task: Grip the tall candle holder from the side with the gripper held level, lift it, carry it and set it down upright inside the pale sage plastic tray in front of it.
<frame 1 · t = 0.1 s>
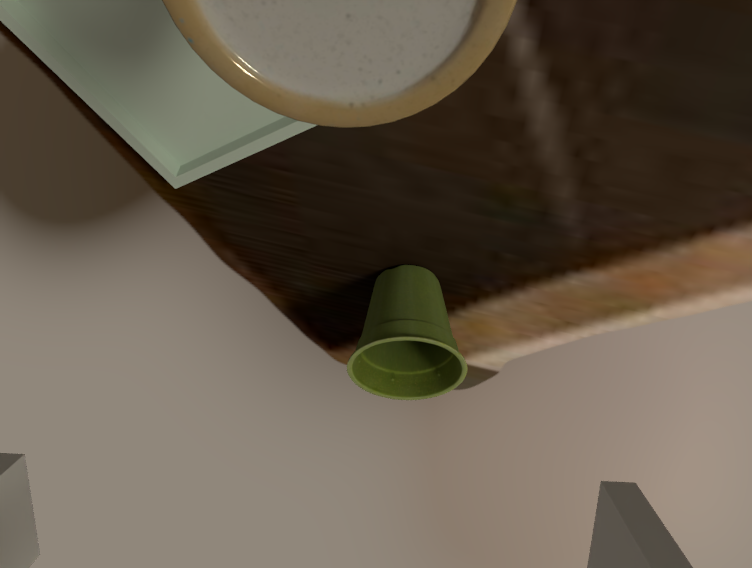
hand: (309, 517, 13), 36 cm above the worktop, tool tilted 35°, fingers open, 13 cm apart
plant pot: (408, 282, 63), on the worktop
tray: (188, 34, 42), on the worktop
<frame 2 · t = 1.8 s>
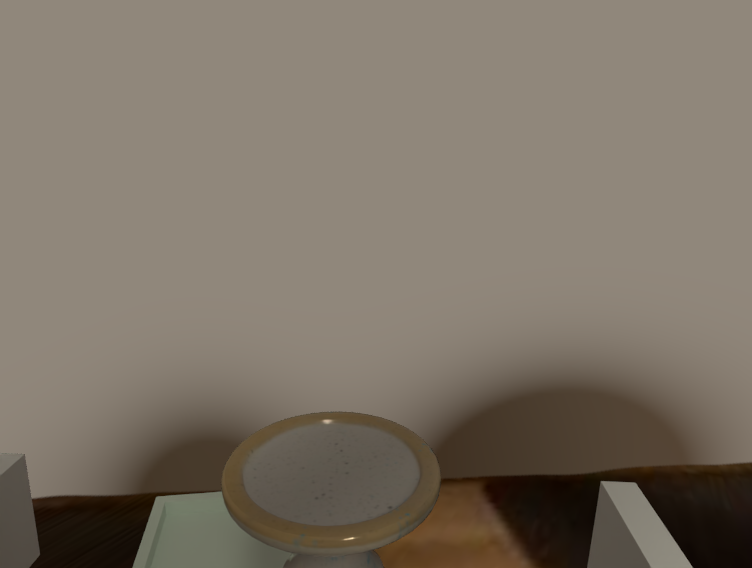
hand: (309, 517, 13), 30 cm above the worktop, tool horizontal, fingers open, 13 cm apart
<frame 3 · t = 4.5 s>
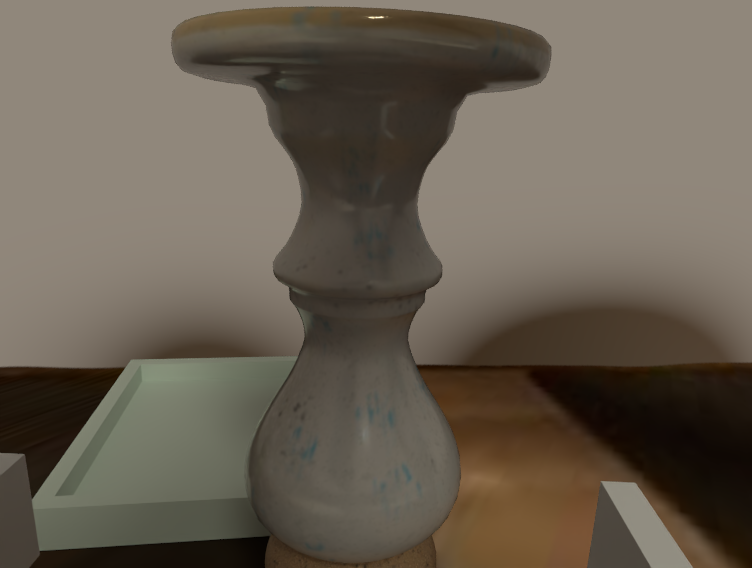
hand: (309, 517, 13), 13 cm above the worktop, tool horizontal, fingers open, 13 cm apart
tray: (238, 443, 39), on the worktop
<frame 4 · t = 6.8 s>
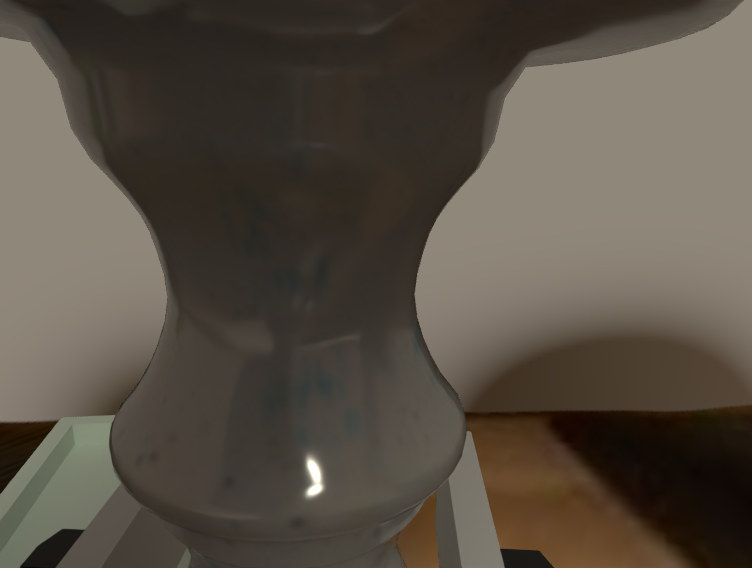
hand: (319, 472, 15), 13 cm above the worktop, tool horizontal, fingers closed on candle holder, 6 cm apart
tray: (185, 538, 31), on the worktop
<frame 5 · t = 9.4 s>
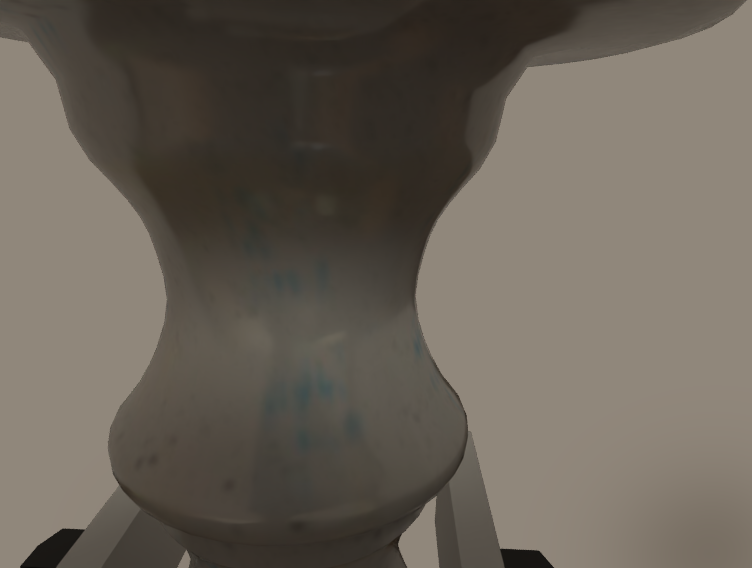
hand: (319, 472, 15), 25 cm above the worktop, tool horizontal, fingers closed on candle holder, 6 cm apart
when the fingers open (15 cm above the worktop, at t = 12.3 s): candle holder drops 1 cm, resting on tray.
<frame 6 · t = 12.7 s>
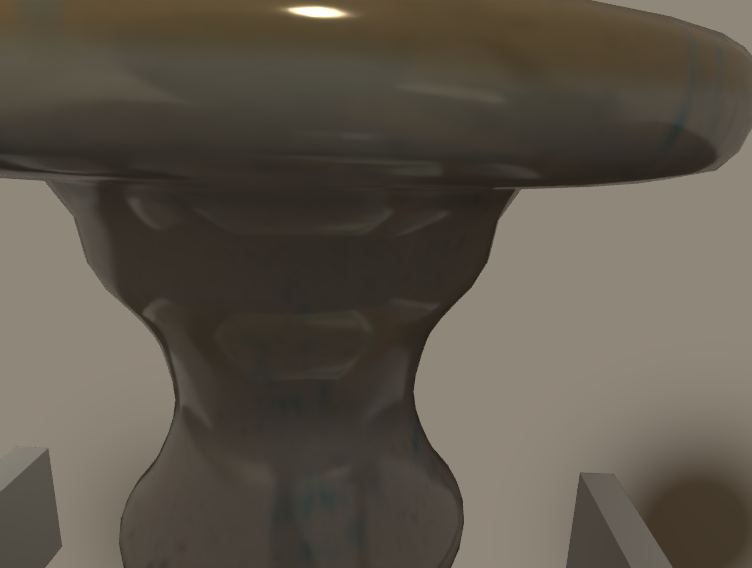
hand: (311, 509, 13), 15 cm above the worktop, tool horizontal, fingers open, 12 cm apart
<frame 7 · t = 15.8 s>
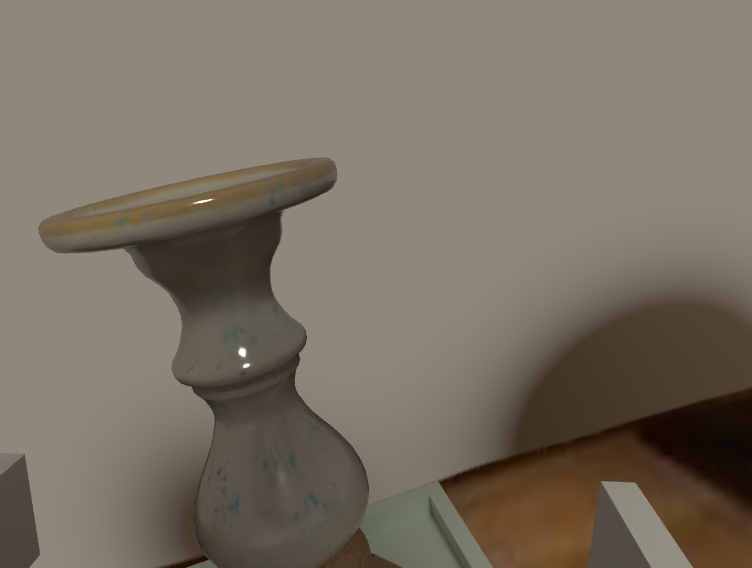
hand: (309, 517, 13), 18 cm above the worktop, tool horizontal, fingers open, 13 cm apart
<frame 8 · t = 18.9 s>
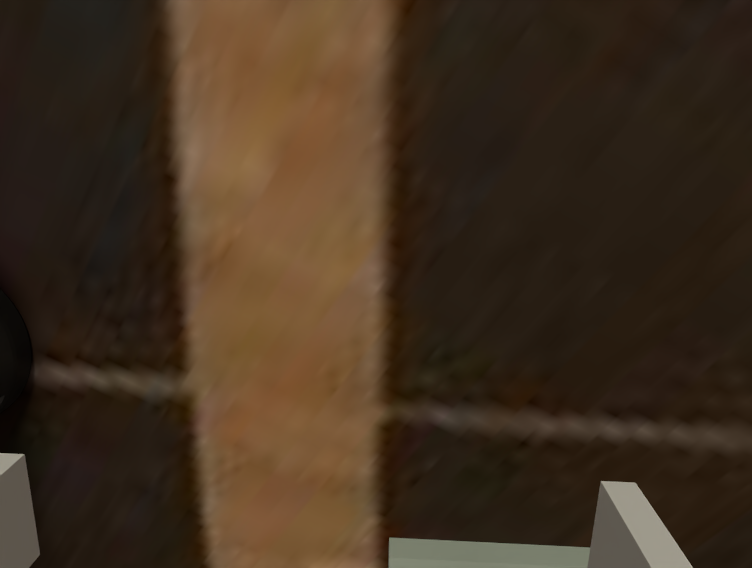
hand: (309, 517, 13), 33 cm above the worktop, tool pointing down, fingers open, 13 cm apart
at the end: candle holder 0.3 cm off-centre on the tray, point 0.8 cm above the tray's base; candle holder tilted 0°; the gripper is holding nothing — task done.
